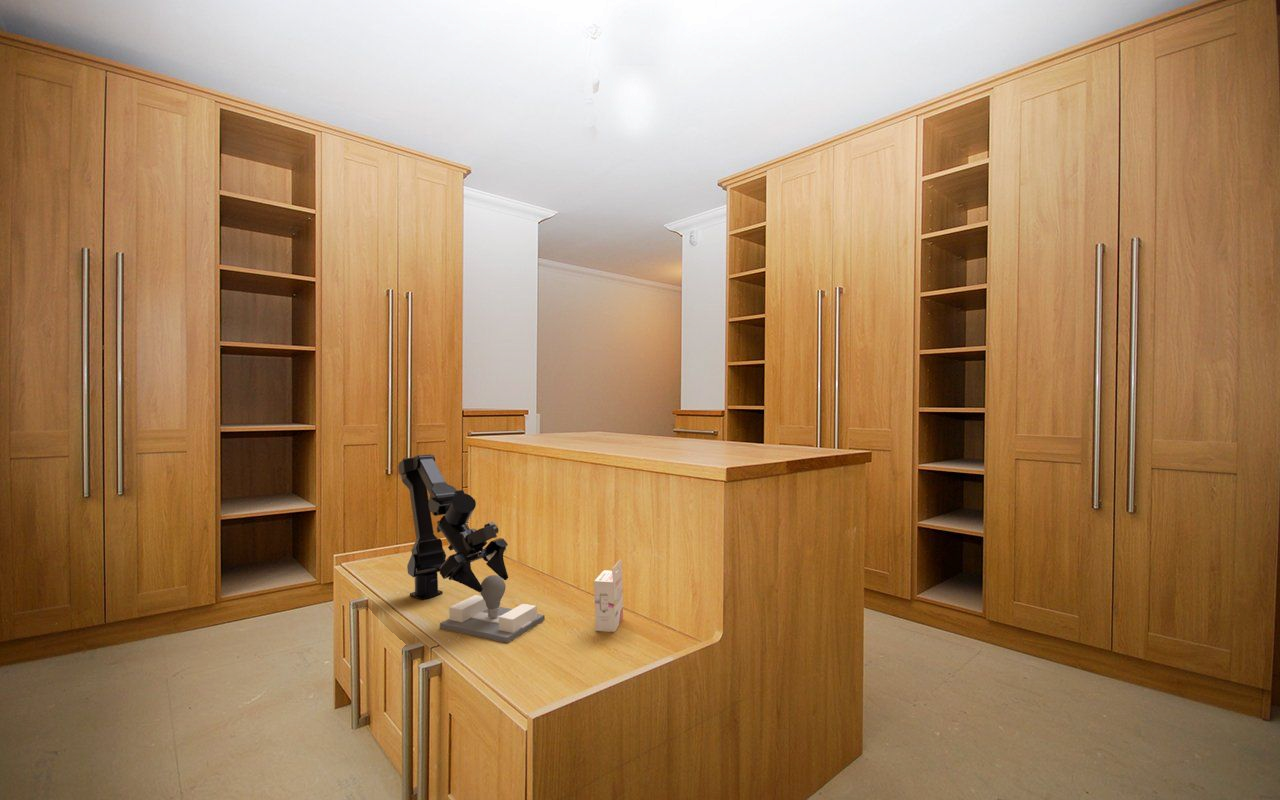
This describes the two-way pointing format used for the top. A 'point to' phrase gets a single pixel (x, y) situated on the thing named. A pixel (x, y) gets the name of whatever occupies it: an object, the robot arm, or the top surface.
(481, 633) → the rail board
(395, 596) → the top surface
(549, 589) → the top surface
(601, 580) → the ink cartridge box
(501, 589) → the light bulb
